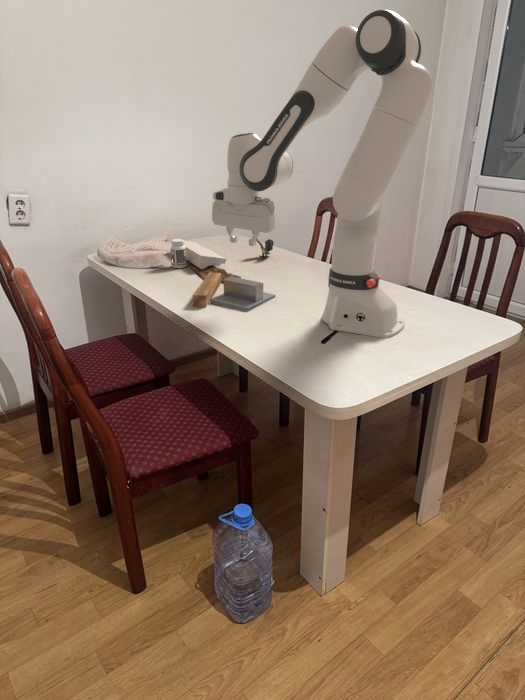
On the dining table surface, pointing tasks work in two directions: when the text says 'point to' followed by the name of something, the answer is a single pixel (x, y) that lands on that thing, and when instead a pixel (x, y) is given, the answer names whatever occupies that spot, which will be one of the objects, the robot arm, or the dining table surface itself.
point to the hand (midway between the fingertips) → (242, 243)
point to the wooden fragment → (205, 272)
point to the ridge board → (240, 302)
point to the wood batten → (206, 290)
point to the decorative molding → (202, 255)
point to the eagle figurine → (266, 248)
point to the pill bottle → (178, 253)
